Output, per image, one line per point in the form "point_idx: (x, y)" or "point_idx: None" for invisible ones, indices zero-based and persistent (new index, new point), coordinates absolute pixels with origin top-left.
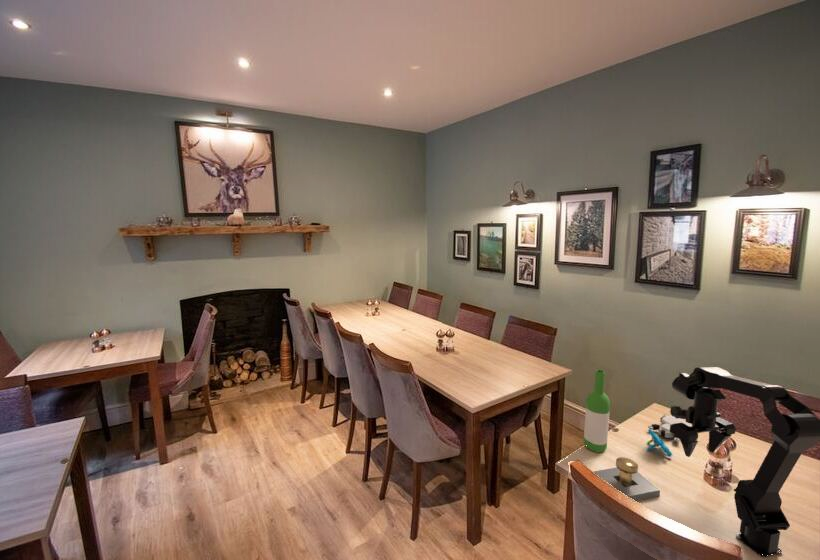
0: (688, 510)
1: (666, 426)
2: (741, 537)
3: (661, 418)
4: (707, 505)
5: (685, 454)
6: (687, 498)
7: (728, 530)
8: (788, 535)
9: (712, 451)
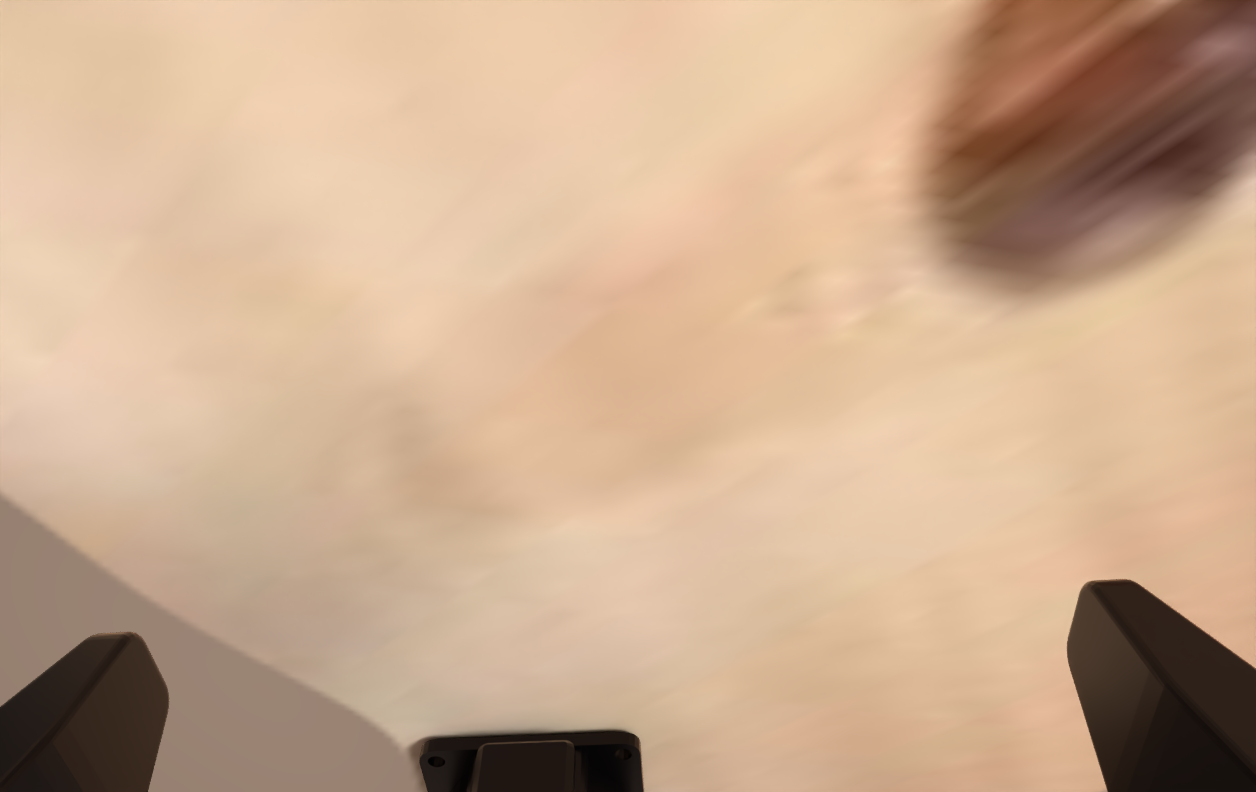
0: (203, 467)
1: None
2: (445, 772)
3: None
4: (502, 443)
5: (77, 657)
6: (337, 316)
7: (425, 686)
8: (897, 772)
9: (1079, 687)
